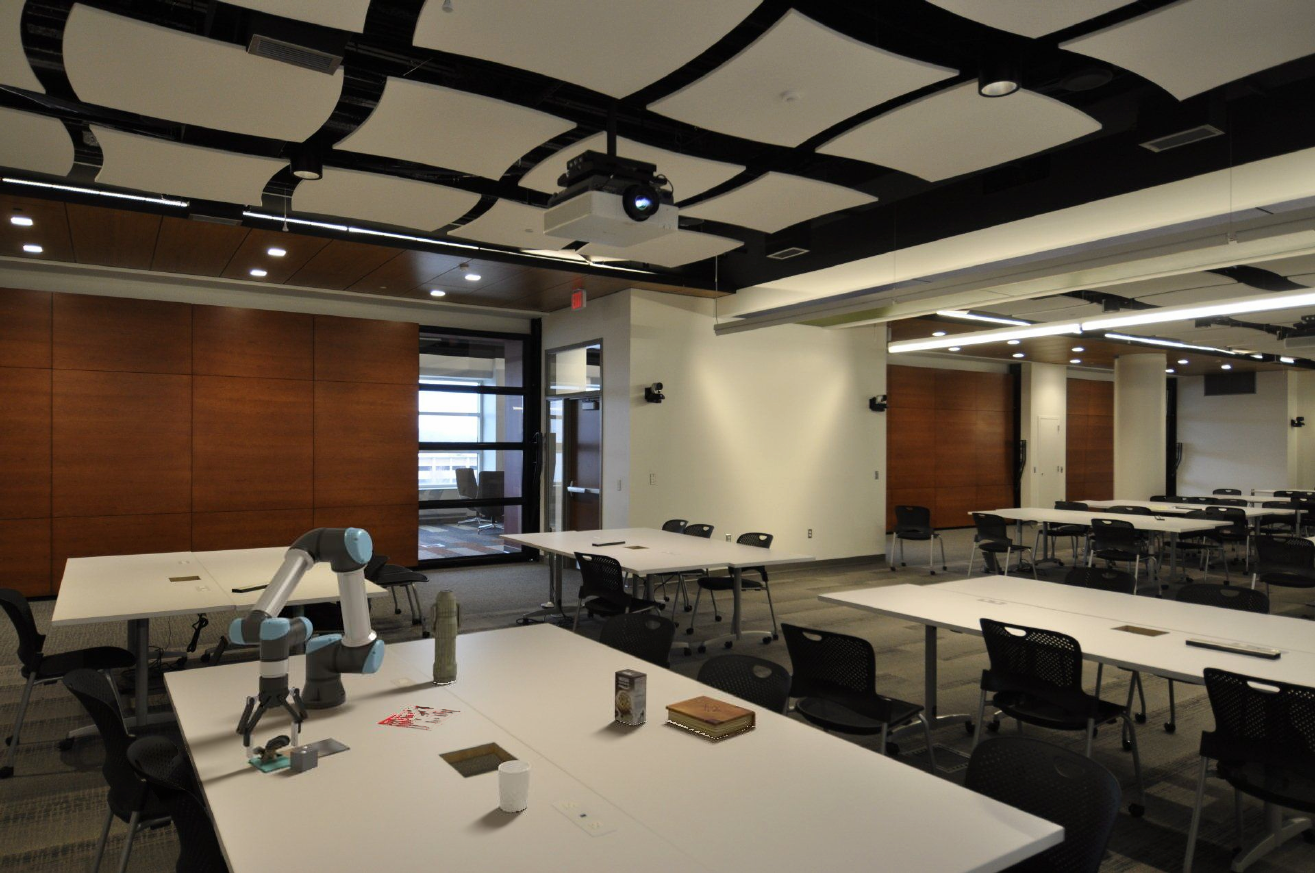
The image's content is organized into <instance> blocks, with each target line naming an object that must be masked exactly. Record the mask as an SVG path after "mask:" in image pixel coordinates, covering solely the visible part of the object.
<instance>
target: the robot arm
mask: <svg viewBox="0 0 1315 873" xmlns="http://www.w3.org/2000/svg"><path fill="white" fill-rule="evenodd" d="M372 551H373V542H372V538H371V536H370V534H369V533H368V532H367V531H366V530H365V529H362V528H356V527H318V528H315V529H312V530H309V531H308V532H306V533H304V534H303V535H302V536H300V537H298V539H296V540H295V541H294V542H293V543H291V545H290V547H289V548H288V549H287V551H286V552H285V554H284V556H283V557H284V561H283V562H282V563H281V565H280V567H279V568H278V570H277V571H276V573H275V574H274V576H273V577H272V579H271V580H270V582H268V584H267V586H266V588H265V589H264V591H262V593H261V594H260V596H259V598H258V600H257V601H256V602H255V604H254V605H253V606H252V608H251V609H250V611H249V613H248V614H247V616H246V617H239V618H236V619H234V620H233V621H232V622H231V624H230V627H229V629H228V630H229V631H228V636H229V638H230V642H232V643H234V644H238V645H246V646H248V645H259V669H258V670H259V671H258V673H259V675H260V676H259V677H258V694H257V695H254V696H247V697H246V702H245V703H246V705H245V708H244V709H243V712H242V715H241V717H240V720H239V722H238V725H237V727H236V729H235V732H236V734H238V735H241V736H243V739H242V745H243V747H245V749H246V753H245V754H246V757H247V758H248V760H250V759H254V754H253V749H254V740H255V739H254V734H253V731H254V730H255V728H256V726H257V725H258V723H259V721H260V720H261V718H262V717H263V715H264V714H265V713H266V712H267V711H268V710H272V709H274V708H280V707H282V708H283V709H284V710H285V711H286V712H287V713H288V715H289V716H290V717H291V719H293V721H291V725H290V726H291V728H290V731H291V732H290V736H291V737H290V739H291V741H290V745H291V746H292V747H293V748H295V747H299V745H298V744H299V734H301V732H302V724H303V722H304V720H307V719H308V718H309V715H308V713H307V710H306V709H327V708H333V707H336V706H339V705H341V704H343V703H345V702H346V701H347V693H346V690H345V687H344V684H343V681H342V674H345V675H346V674H348V675H349V674H351V675H352V674H354V675H355V674H356V675H358V674H359V675H368V674H369V675H373V674H375V673H377V671H378V670H380V668H381V666H382V663H383V661H384V658H385V653H386V652H385V650H386V649H385V648H386V647H385V646H386V645H385V642H384V640H381V639H378V637H377V632H376V631H375V630H373V629H372V626H371V619H370V611H369V602H368V595H367V588H366V587H367V586H366V580H365V579H366V578H365V573H364V569H365V568H366V567H367V566H368V562H370V560H371V558H372V556H373V552H372ZM318 563H330V564H329V565H330V569H331V570H330V571H331V572H332V573H335V574H336V578H337V585H338V593H339V600H340V601H339V602H340V607H341V615H342V620H343V629H344V630H343V631H344V635H343V636H342V634H341V633H333V634H332V633H331V634H324V635H321V636H316V637H313V638H311V639H309V638H310V637H311V636H312V635H313V634H312V633H313V630H314V628H313V624H312V622H311V621H310V619H309V618H307V617H305V616H298V617H297V616H295V617H293V618H289V619H288V618H286V617H278V616H279V614H280V613H281V612H282V609H284V607H285V605H286V604H287V602H288V601H289V599H290V597H291V596H292V594H293V592H294V591H295V590H296V587H297V586H298V584H299V583H300V582H301V580H302V578H303V577H304V575H305V573H307V571H310V570H312V568H313V567H314V565H316V564H318ZM307 640H308V641H307ZM305 641H307V643H306V646H305V647H306V648H305V681H304V685H303V688H302V691H301V692H300V688H298V687H296V686H292V688H289V667H290V666H289V664H290V663H289V662H290V658H289V657H290V648H292V647H294V646H297V645H300V644H302V643H304V642H305ZM300 693H301V694H300ZM289 695H290V696H292V700H293V702H294V705H295V707H296V710H297V712H298V713H297V712H296V711H295V710H294V708H293V707H292V706H291V705H290V703H289V702H288V700H287V699H288V697H289ZM257 702H259V704H258V705H257ZM255 705H257V707H256V710H255V712H254V713H253V711H254V707H255ZM252 713H253V715H252ZM251 715H252V716H251Z"/></svg>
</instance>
